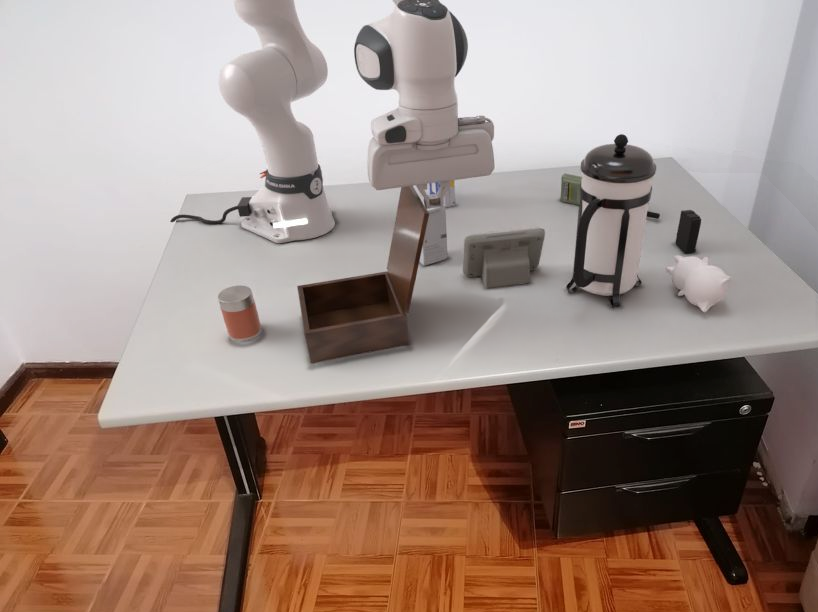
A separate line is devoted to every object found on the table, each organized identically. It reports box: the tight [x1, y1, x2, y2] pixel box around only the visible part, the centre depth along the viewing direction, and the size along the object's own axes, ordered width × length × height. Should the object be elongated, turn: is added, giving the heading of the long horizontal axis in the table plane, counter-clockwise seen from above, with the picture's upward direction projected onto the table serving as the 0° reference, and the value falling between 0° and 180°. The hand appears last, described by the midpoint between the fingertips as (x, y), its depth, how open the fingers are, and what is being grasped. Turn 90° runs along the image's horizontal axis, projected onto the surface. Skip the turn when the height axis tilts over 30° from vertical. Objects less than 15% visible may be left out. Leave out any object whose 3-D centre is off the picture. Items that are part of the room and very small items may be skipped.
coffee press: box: [565, 133, 657, 308], centre depth 115 cm, size 17×16×30 cm
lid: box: [386, 186, 429, 314], centre depth 107 cm, size 18×16×1 cm
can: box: [217, 285, 263, 343], centre depth 111 cm, size 6×6×9 cm
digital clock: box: [462, 226, 546, 289], centre depth 126 cm, size 16×9×11 cm, turn 89°
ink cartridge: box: [675, 209, 702, 254], centre depth 135 cm, size 5×2×8 cm, turn 10°
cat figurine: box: [665, 254, 732, 313], centre depth 119 cm, size 9×11×12 cm
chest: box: [296, 270, 410, 364], centre depth 112 cm, size 17×16×7 cm
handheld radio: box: [560, 172, 661, 220], centre depth 152 cm, size 7×3×25 cm
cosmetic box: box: [419, 201, 449, 266], centre depth 132 cm, size 6×4×12 cm
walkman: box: [429, 180, 456, 208], centre depth 156 cm, size 8×3×12 cm, turn 32°
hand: (433, 206), depth 105 cm, fingers closed
